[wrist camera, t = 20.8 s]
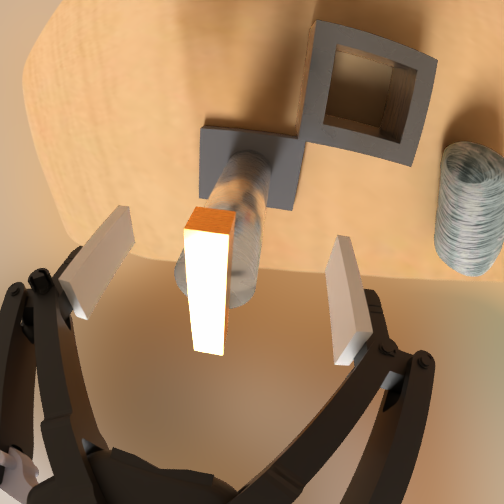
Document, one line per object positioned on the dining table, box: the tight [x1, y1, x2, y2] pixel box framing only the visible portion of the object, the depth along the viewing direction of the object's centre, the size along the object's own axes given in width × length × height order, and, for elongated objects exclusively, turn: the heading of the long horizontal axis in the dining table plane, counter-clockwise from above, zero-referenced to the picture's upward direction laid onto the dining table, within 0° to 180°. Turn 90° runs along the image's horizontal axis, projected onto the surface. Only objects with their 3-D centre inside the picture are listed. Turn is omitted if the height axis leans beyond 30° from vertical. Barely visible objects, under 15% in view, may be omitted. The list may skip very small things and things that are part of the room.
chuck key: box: [174, 150, 271, 355], centre depth 18 cm, size 4×8×16 cm, turn 174°
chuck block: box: [295, 20, 438, 167], centre depth 17 cm, size 9×9×5 cm
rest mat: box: [199, 126, 305, 211], centre depth 25 cm, size 7×9×1 cm
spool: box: [434, 141, 504, 276], centre depth 20 cm, size 14×10×10 cm
